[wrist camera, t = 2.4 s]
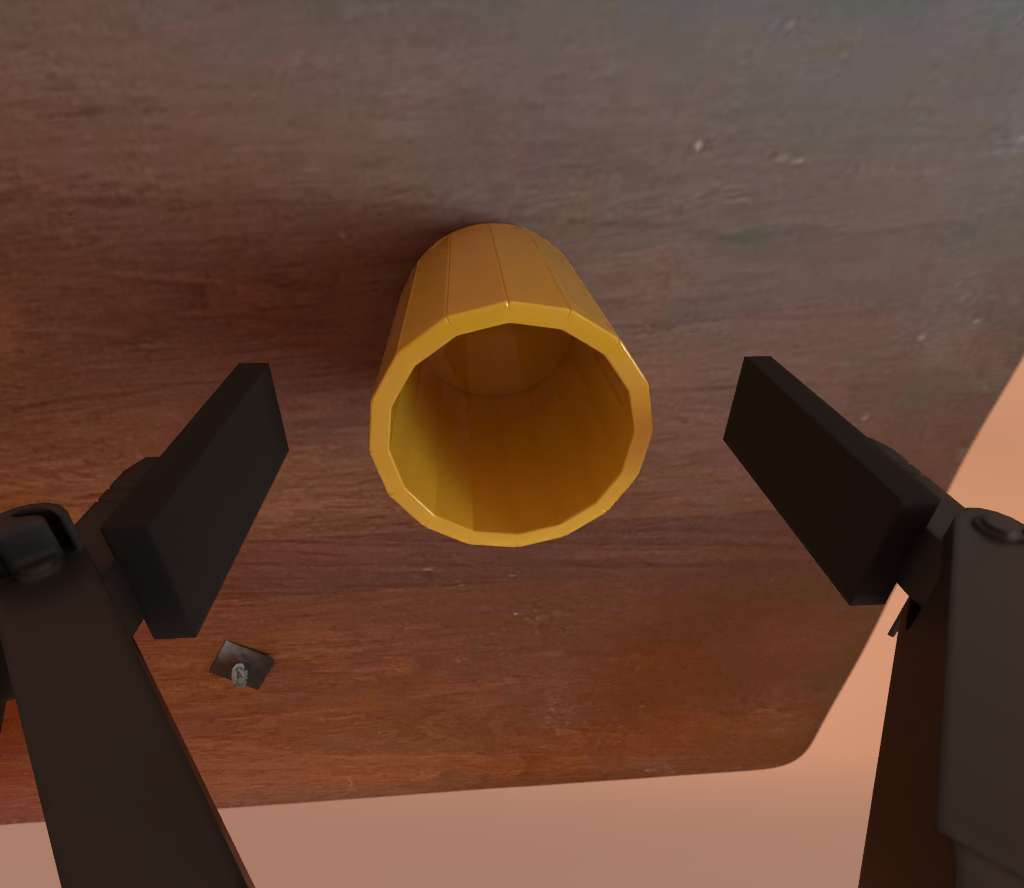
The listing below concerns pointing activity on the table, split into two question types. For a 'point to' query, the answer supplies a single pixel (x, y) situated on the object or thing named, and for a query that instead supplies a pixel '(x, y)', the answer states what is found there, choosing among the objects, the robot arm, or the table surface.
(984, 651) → the robot arm
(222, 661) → the dark square tile
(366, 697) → the table surface
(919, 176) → the table surface
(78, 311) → the table surface
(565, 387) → the cup
